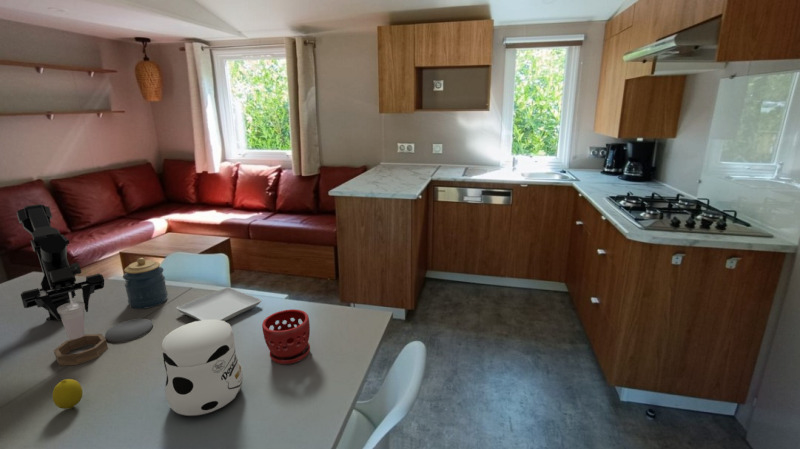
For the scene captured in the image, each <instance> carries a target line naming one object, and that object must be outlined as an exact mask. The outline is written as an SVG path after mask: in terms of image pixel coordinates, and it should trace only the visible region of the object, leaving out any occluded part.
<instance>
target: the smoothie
mask: <svg viewBox="0 0 800 449" xmlns="http://www.w3.org/2000/svg"><path fill="white" fill-rule="evenodd" d="M69 298H70V303H66V304H63V305H61V306H59V307H58V308H57V312H58V314H59V315H60V317H61V320H60V321H61V322H62V324H63V327H64V329H65V331H66V334H67V337H68V340H70V339H78V338H81V337H83V336H84V335H86V334H85V332H86V331H85V303H84V301H74V300H73V298H72V295H71V292H69Z"/></svg>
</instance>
